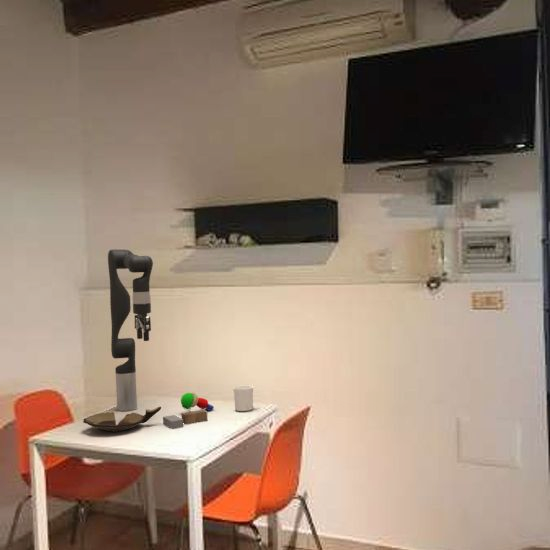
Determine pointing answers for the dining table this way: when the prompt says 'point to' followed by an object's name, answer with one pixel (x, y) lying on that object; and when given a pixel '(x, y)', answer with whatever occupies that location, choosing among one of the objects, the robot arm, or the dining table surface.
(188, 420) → the block
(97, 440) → the dining table surface
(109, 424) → the oil lamp
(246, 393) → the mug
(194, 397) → the toy
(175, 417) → the hammer head
